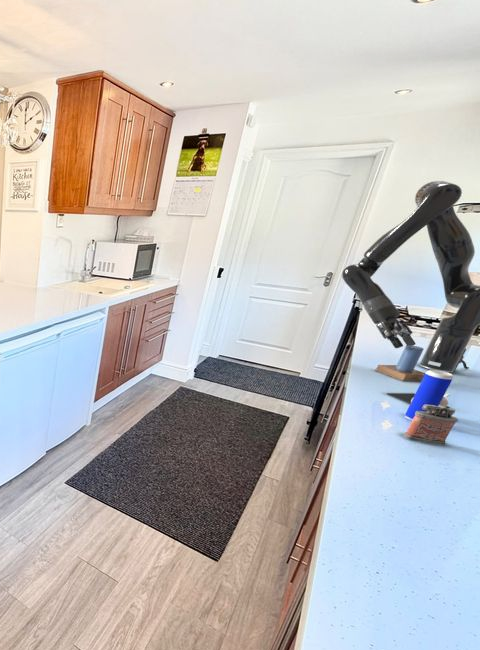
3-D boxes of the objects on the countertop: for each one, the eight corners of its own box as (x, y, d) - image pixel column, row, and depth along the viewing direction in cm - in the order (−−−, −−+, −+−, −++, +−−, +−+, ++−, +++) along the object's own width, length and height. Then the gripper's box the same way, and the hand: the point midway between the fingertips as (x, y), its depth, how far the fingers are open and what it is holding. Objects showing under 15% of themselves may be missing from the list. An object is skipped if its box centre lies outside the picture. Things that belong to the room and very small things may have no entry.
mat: (414, 394, 135) (414, 393, 135) (449, 408, 126) (449, 407, 125) (386, 394, 134) (387, 393, 134) (419, 408, 125) (420, 406, 125)
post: (403, 367, 152) (413, 345, 149) (416, 372, 148) (427, 349, 145) (391, 367, 152) (402, 345, 149) (404, 372, 148) (415, 349, 144)
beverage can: (417, 416, 119) (441, 369, 114) (434, 424, 115) (460, 376, 109) (399, 414, 120) (422, 368, 114) (415, 423, 115) (439, 375, 110)
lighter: (438, 439, 107) (456, 406, 103) (447, 446, 104) (467, 412, 100) (400, 433, 109) (417, 400, 105) (408, 439, 106) (425, 406, 102)
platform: (399, 371, 156) (402, 365, 155) (428, 381, 147) (431, 375, 146) (375, 370, 155) (378, 364, 154) (402, 381, 146) (405, 374, 145)
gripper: (381, 304, 149) (408, 343, 143) (402, 303, 154) (428, 340, 148) (358, 315, 155) (383, 352, 150) (379, 313, 160) (403, 349, 155)
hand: (406, 346), depth 149 cm, fingers open, 8 cm apart
